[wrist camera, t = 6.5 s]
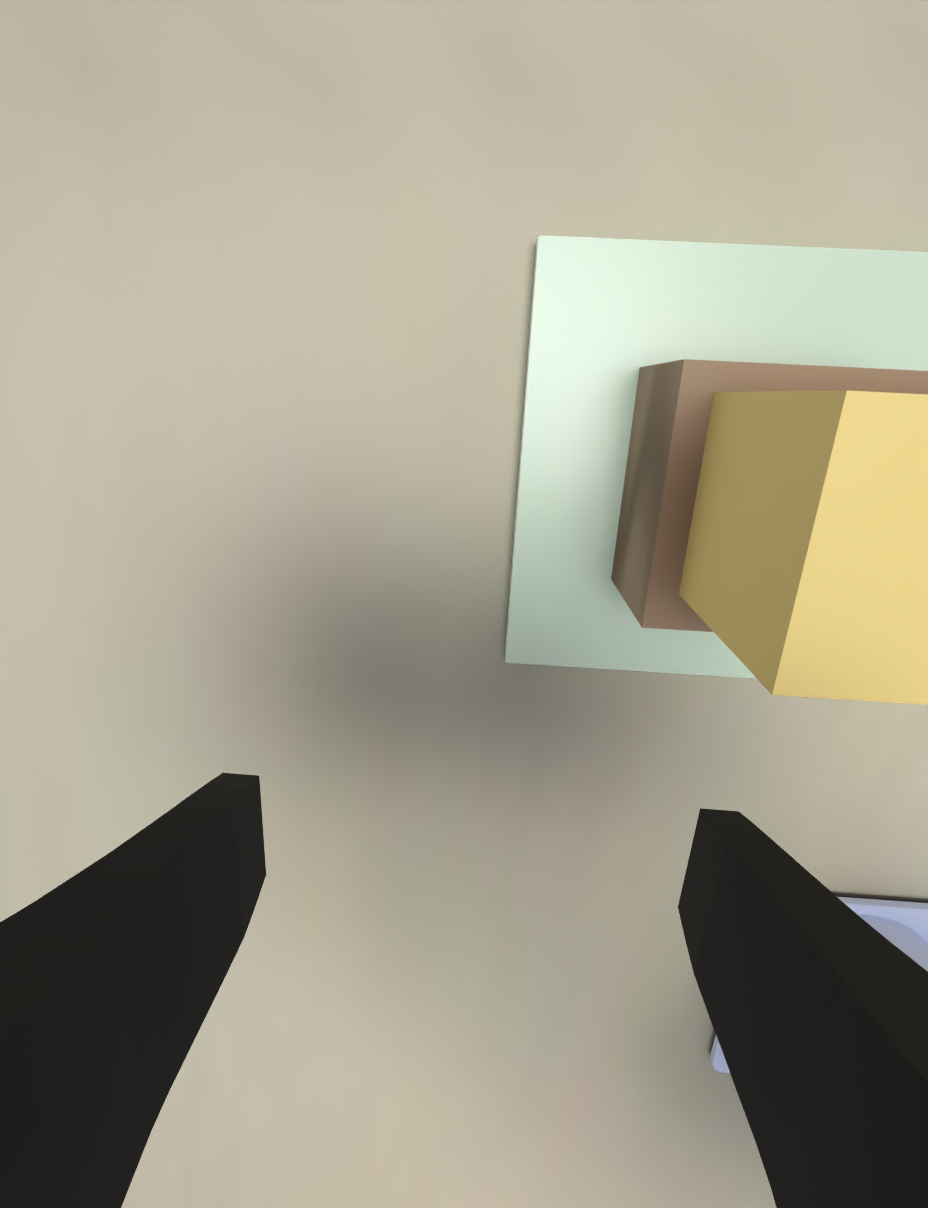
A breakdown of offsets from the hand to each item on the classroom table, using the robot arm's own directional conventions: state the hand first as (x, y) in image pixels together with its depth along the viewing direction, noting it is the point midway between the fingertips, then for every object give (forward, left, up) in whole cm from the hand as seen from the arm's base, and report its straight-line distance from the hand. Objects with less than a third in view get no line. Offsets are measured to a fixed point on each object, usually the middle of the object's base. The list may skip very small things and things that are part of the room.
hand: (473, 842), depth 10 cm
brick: (+5, -7, -6) cm, 10 cm away
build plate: (+5, -7, -10) cm, 13 cm away
